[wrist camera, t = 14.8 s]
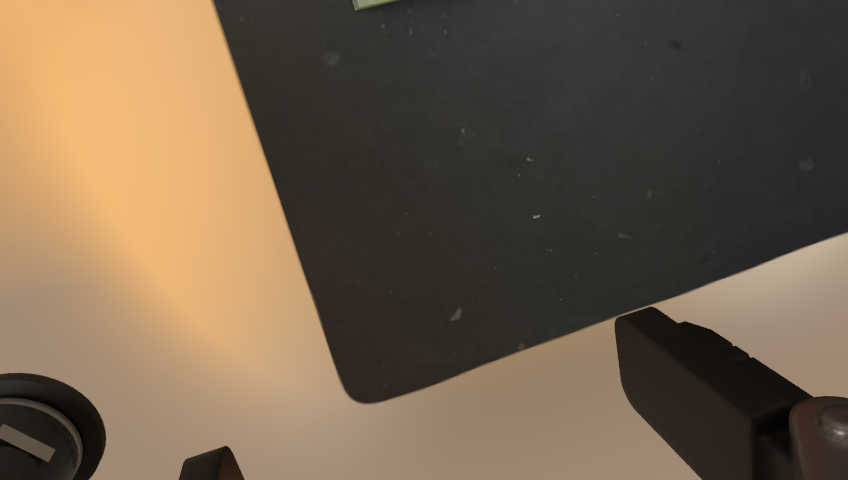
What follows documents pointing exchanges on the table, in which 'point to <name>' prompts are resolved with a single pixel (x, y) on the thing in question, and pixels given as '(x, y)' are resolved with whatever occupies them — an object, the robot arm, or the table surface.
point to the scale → (369, 3)
